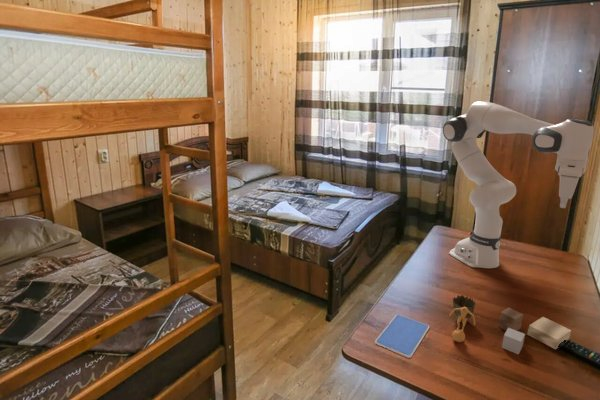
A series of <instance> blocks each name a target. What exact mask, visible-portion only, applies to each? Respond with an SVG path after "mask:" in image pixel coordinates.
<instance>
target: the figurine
mask: <svg viewBox="0 0 600 400" xmlns="http://www.w3.org/2000/svg"><path fill="white" fill-rule="evenodd" d="M455 310H460V312H461V316H459V317H458V320H456V323H457V328H456V329H454V330H453V332H452V339H453V340H454V342H457V343H462V342H464V341H465V339H466V334H465V332H464V329H465V326H466V324H467V321H468V319H467V318H465V317H466V315H467V313H469V314H470V315H472V316H471V317H472V320H473V326H476V319H475V315H474V313H473V314H472V313H471V312H470V311H469V310H468V308H467V307H463V308H455V309H454V310H453V309H452V311H451V312H450V313H449V315H448V316H449V318H450V317H451V316H452V314H454V311H455ZM461 319H462V320H463V321H462V322H461ZM460 323H462V328H461V329H460V325H461V324H460Z"/></svg>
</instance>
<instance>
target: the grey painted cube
mask: <svg viewBox="0 0 600 400" xmlns="http://www.w3.org/2000/svg"><path fill="white" fill-rule="evenodd" d="M525 336H526V333H523V332H521V331H520V330H518V331H516V330H513V329H511V328H508V329H507V331H506V330H505V332H504V335H503V339H502V343H501V349H505V350H506V351H509V352H511V353H514V354H516V355H519V354H520V353H521V351H522V349H523V346H524V342H525Z"/></svg>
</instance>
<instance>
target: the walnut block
mask: <svg viewBox="0 0 600 400" xmlns="http://www.w3.org/2000/svg"><path fill="white" fill-rule="evenodd" d="M523 316H524V313H521V312H519V311H517V310H515V309H513V308H511V307H507V308H506V309H504V310H502V311H501V312H500V317H499V320H498V326H497V327H498V328H500V329H502V330H504V331H505V332H506V331H507V329H508V328H511V329H513V330H516V331H520V330H521V327H522V322H523Z"/></svg>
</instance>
